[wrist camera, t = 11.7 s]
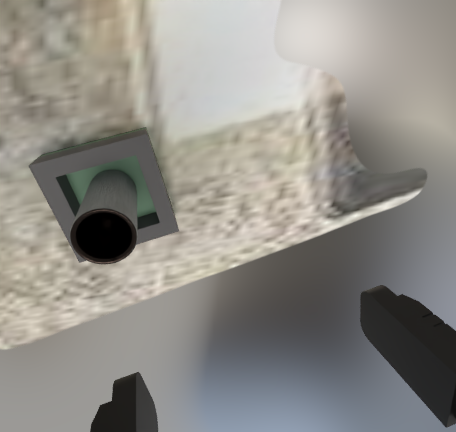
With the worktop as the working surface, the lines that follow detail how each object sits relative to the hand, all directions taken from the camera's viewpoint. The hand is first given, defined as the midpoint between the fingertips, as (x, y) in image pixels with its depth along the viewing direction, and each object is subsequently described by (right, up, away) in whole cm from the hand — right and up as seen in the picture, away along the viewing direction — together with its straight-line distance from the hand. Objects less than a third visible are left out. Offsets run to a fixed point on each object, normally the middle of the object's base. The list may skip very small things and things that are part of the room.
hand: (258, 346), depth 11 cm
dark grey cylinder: (-13, +7, +21) cm, 25 cm away
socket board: (-13, +7, +22) cm, 26 cm away
